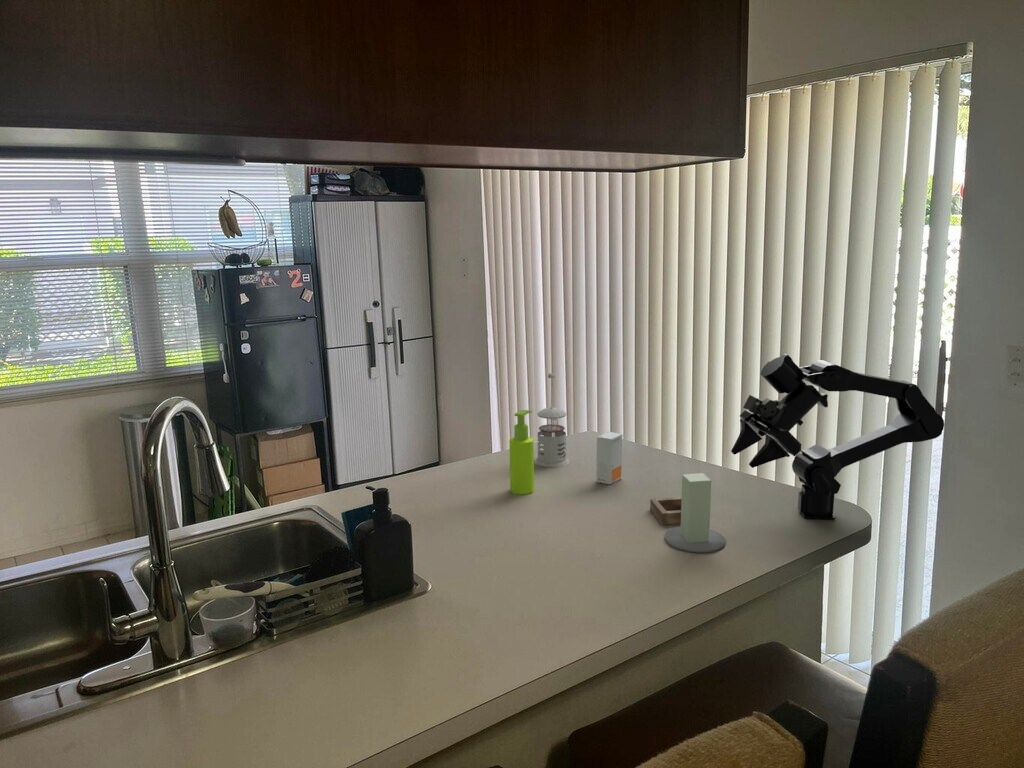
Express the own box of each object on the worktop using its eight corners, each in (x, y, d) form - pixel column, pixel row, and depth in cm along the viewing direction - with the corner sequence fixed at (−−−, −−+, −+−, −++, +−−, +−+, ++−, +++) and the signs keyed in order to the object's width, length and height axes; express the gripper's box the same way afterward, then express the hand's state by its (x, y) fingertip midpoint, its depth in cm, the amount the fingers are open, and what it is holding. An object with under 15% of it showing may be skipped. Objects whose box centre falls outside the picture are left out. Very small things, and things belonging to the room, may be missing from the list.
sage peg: (700, 532, 151) (703, 473, 149) (708, 541, 147) (711, 480, 144) (680, 533, 151) (682, 474, 148) (688, 542, 146) (690, 481, 144)
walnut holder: (687, 506, 167) (687, 496, 166) (701, 521, 158) (701, 511, 158) (650, 509, 166) (650, 498, 165) (662, 524, 157) (662, 513, 157)
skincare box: (610, 485, 182) (611, 439, 179) (595, 482, 184) (596, 436, 182) (622, 478, 187) (622, 433, 184) (607, 475, 189) (608, 431, 187)
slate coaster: (720, 529, 154) (720, 527, 154) (728, 554, 142) (728, 551, 142) (663, 527, 156) (663, 524, 156) (666, 551, 144) (666, 548, 144)
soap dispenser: (540, 487, 181) (539, 410, 177) (526, 496, 176) (524, 416, 171) (520, 483, 184) (519, 407, 180) (505, 492, 179) (504, 413, 174)
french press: (532, 466, 198) (530, 376, 192) (537, 453, 209) (536, 368, 204) (568, 467, 196) (567, 377, 191) (571, 454, 207) (571, 368, 202)
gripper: (750, 374, 163) (701, 424, 164) (790, 392, 145) (734, 448, 146) (781, 406, 165) (732, 455, 167) (825, 428, 147) (770, 483, 148)
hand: (741, 459), depth 157 cm, fingers open, 9 cm apart
